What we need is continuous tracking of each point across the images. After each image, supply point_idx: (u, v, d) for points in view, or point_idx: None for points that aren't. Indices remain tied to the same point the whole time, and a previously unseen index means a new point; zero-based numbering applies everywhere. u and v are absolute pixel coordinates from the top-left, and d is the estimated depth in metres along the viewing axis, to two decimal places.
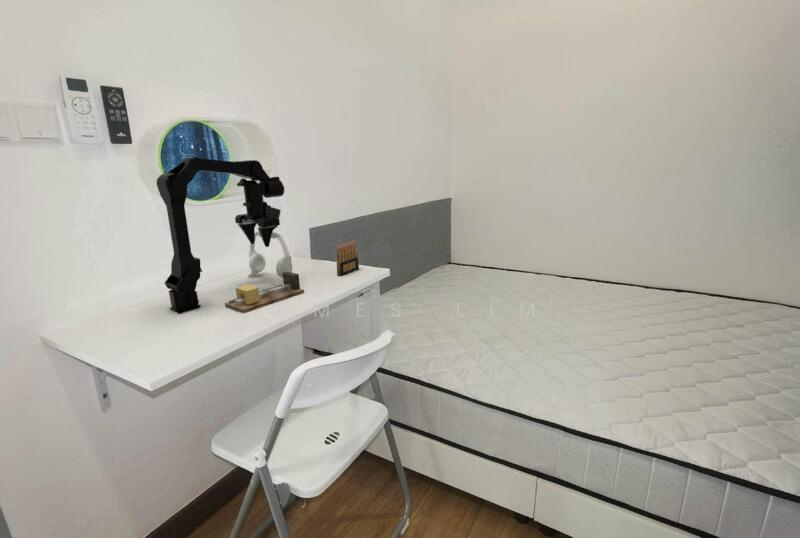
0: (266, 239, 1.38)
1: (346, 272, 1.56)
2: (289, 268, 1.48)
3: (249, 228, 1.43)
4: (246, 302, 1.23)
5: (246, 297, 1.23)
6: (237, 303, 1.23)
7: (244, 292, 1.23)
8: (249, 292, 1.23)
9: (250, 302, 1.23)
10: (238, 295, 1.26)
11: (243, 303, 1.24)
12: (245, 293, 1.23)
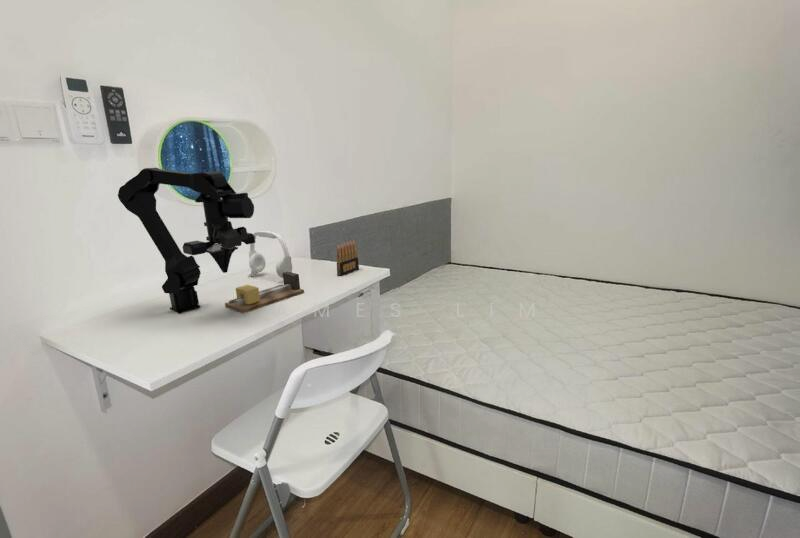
0: (219, 264, 1.18)
1: (346, 272, 1.56)
2: (289, 268, 1.48)
3: (223, 253, 1.18)
4: (246, 302, 1.23)
5: (246, 297, 1.23)
6: (237, 303, 1.23)
7: (244, 292, 1.23)
8: (249, 292, 1.23)
9: (250, 302, 1.23)
10: (238, 295, 1.26)
11: (243, 303, 1.24)
12: (245, 293, 1.23)
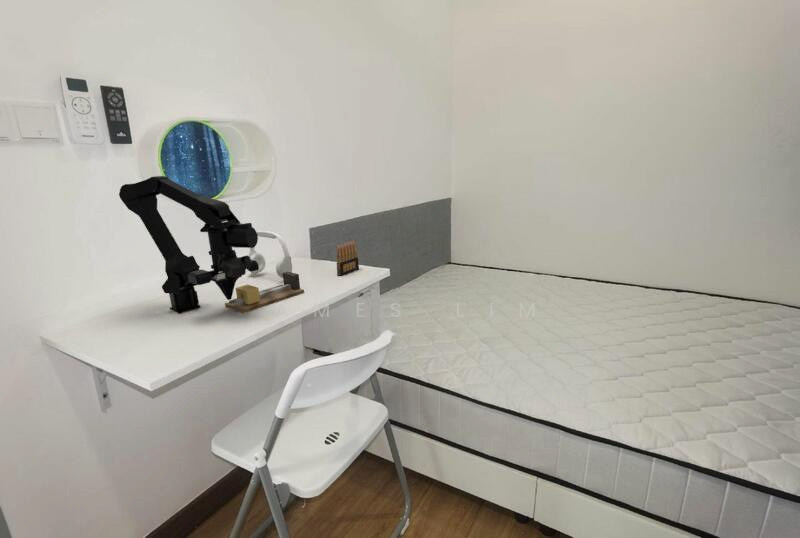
0: (223, 291, 1.20)
1: (346, 272, 1.56)
2: (289, 268, 1.48)
3: (227, 281, 1.20)
4: (246, 302, 1.23)
5: (246, 297, 1.23)
6: (237, 303, 1.23)
7: (244, 292, 1.23)
8: (249, 292, 1.23)
9: (250, 302, 1.23)
10: (238, 295, 1.26)
11: (243, 303, 1.24)
12: (245, 293, 1.23)
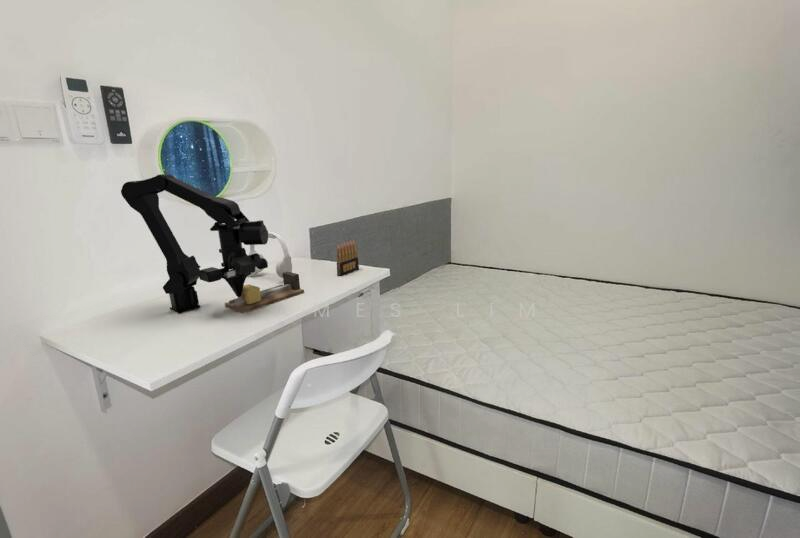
0: (233, 288, 1.22)
1: (346, 272, 1.56)
2: (289, 268, 1.48)
3: None
4: (247, 302, 1.24)
5: (247, 297, 1.23)
6: (237, 303, 1.23)
7: (245, 292, 1.23)
8: (250, 292, 1.23)
9: (251, 302, 1.24)
10: None
11: (243, 303, 1.24)
12: (246, 293, 1.23)
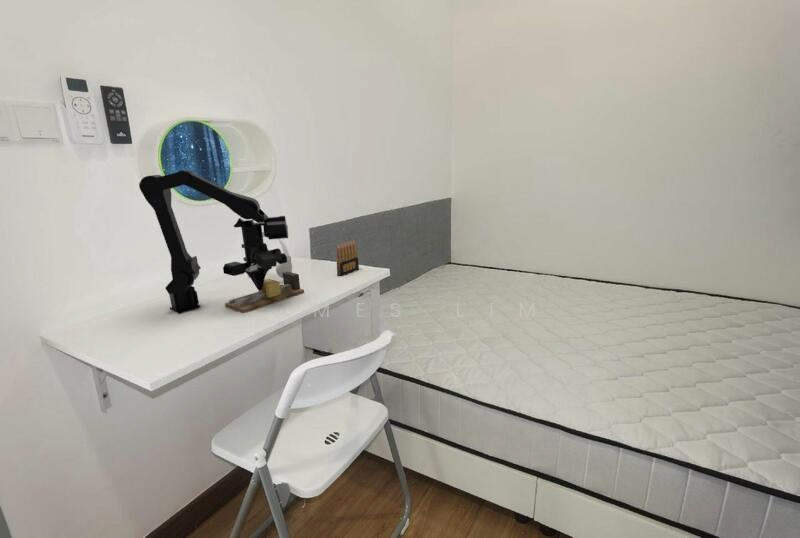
0: (255, 282, 1.28)
1: (346, 272, 1.56)
2: (289, 268, 1.48)
3: None
4: (268, 295, 1.29)
5: (268, 290, 1.28)
6: (237, 303, 1.23)
7: (266, 285, 1.28)
8: (271, 285, 1.28)
9: (271, 295, 1.29)
10: None
11: (243, 303, 1.24)
12: (267, 286, 1.28)
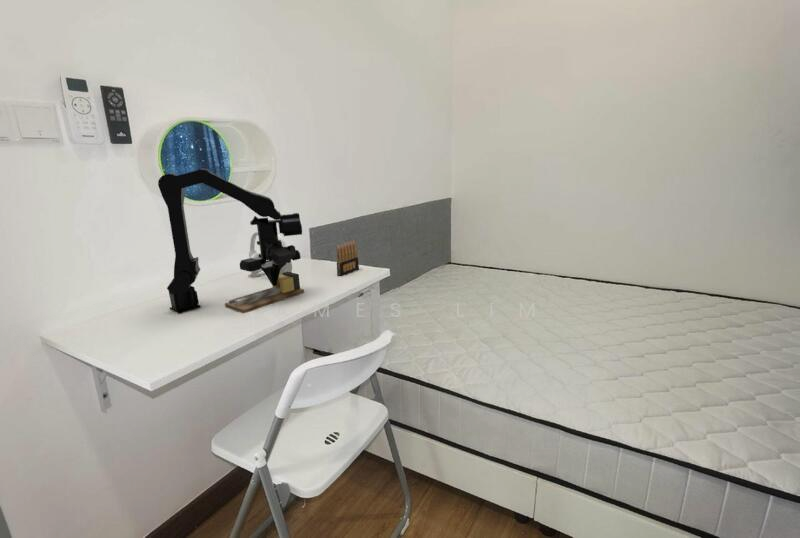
0: (270, 278, 1.32)
1: (346, 272, 1.56)
2: (289, 268, 1.48)
3: None
4: (282, 291, 1.33)
5: (282, 286, 1.32)
6: (237, 303, 1.23)
7: (280, 281, 1.32)
8: (285, 281, 1.32)
9: (286, 291, 1.33)
10: None
11: (243, 303, 1.24)
12: (281, 282, 1.32)
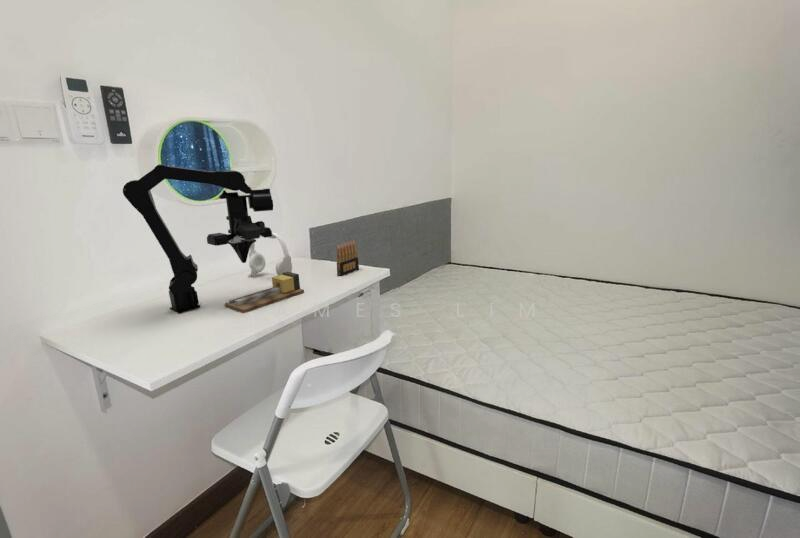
0: (239, 255, 1.29)
1: (346, 272, 1.56)
2: (289, 268, 1.48)
3: (243, 245, 1.29)
4: (282, 290, 1.33)
5: (282, 286, 1.32)
6: (237, 303, 1.23)
7: (280, 281, 1.32)
8: (285, 281, 1.32)
9: (286, 290, 1.33)
10: (274, 284, 1.35)
11: (243, 303, 1.24)
12: (281, 282, 1.32)
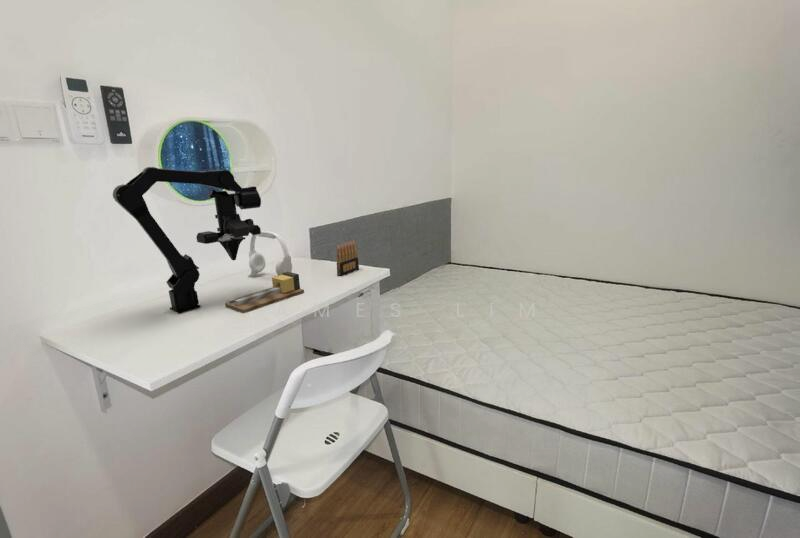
0: (229, 252, 1.31)
1: (346, 272, 1.56)
2: (289, 268, 1.48)
3: None
4: (282, 290, 1.33)
5: (282, 286, 1.32)
6: (237, 303, 1.23)
7: (280, 281, 1.32)
8: (285, 281, 1.32)
9: (286, 290, 1.33)
10: (274, 284, 1.35)
11: (243, 303, 1.24)
12: (281, 282, 1.32)
